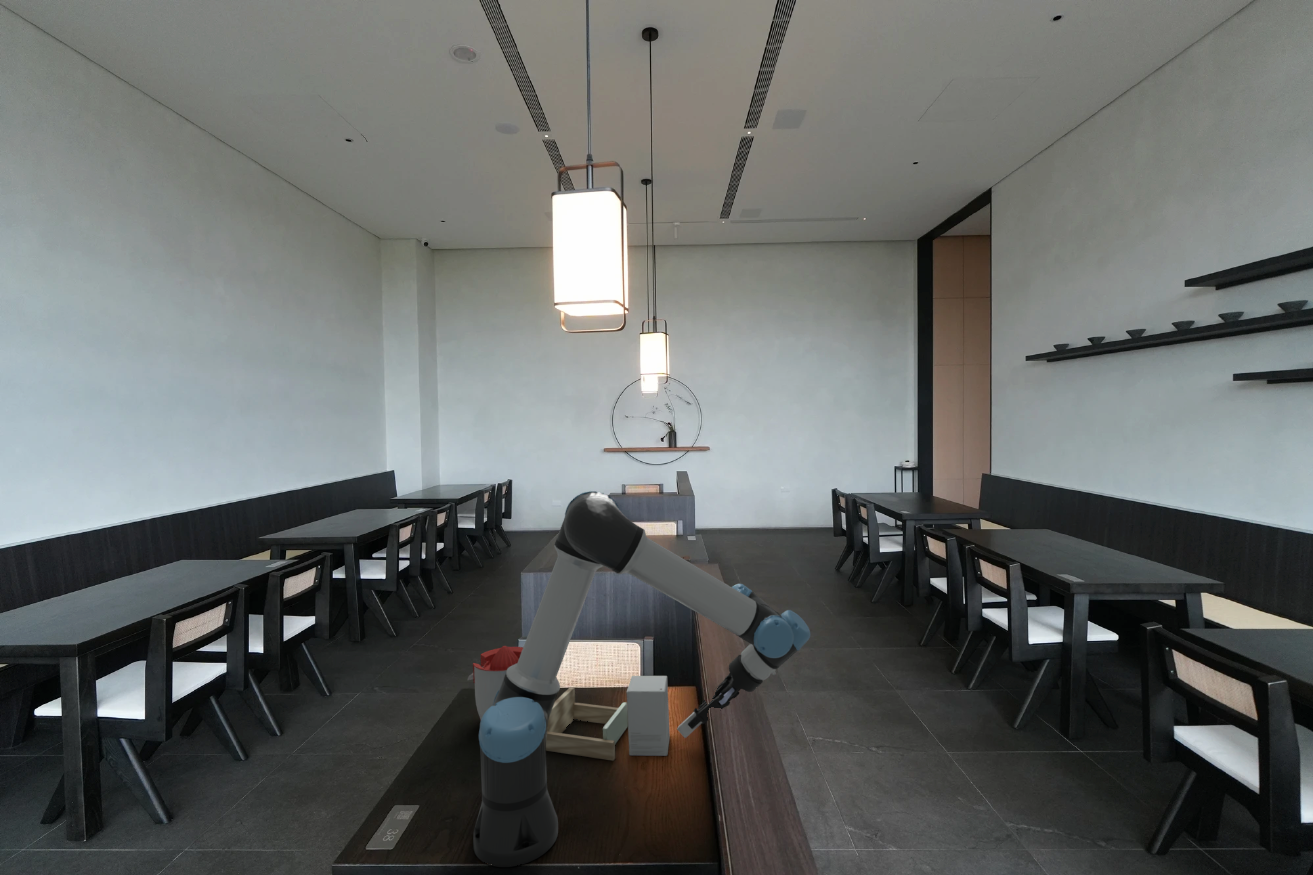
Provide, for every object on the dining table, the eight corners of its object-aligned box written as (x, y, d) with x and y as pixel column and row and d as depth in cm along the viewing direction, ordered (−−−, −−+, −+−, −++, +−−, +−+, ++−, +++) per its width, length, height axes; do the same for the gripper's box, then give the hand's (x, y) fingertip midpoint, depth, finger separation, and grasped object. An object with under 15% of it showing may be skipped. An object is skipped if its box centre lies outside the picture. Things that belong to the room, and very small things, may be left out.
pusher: (607, 754, 135) (606, 728, 134) (603, 754, 135) (602, 728, 135) (627, 726, 147) (626, 702, 147) (624, 725, 147) (623, 702, 147)
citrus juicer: (480, 709, 160) (477, 635, 159) (544, 708, 159) (541, 634, 159) (458, 739, 144) (455, 658, 144) (529, 738, 143) (526, 657, 143)
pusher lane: (613, 760, 133) (612, 725, 133) (541, 749, 138) (540, 715, 138) (637, 725, 148) (636, 694, 148) (571, 717, 153) (570, 686, 153)
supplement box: (670, 736, 142) (668, 674, 142) (667, 756, 134) (665, 691, 133) (633, 735, 143) (631, 674, 143) (627, 755, 134) (625, 690, 134)
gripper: (760, 693, 124) (686, 760, 129) (768, 668, 136) (699, 730, 142) (734, 665, 126) (662, 733, 131) (744, 643, 138) (678, 706, 143)
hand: (681, 732), depth 136 cm, fingers closed
